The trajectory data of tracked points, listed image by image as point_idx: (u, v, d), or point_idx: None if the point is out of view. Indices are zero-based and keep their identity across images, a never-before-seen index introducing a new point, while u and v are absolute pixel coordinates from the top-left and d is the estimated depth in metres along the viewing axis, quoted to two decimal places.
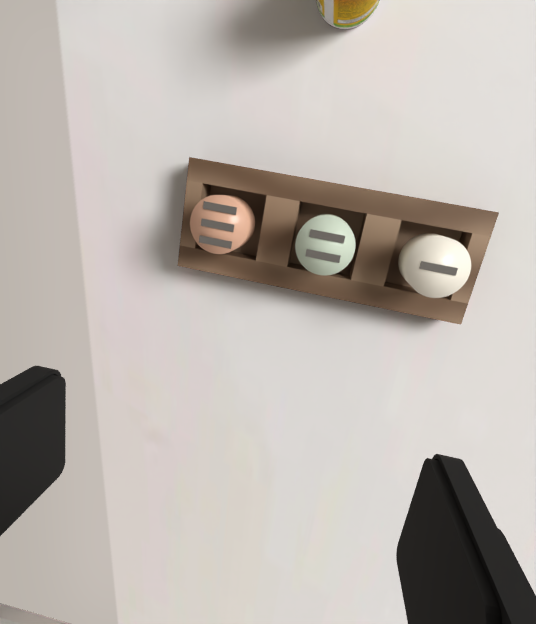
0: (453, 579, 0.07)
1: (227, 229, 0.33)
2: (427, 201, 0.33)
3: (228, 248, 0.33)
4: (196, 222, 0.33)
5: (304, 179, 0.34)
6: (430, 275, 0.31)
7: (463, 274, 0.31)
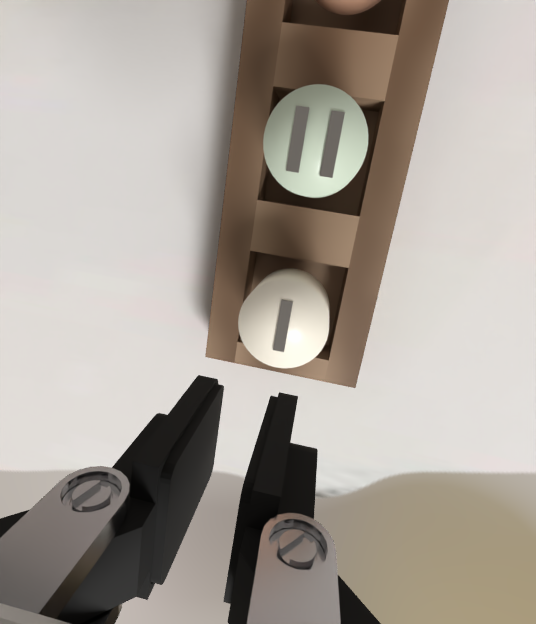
0: None
1: None
2: (374, 300, 0.24)
3: None
4: None
5: (420, 106, 0.21)
6: (272, 316, 0.21)
7: (275, 359, 0.21)
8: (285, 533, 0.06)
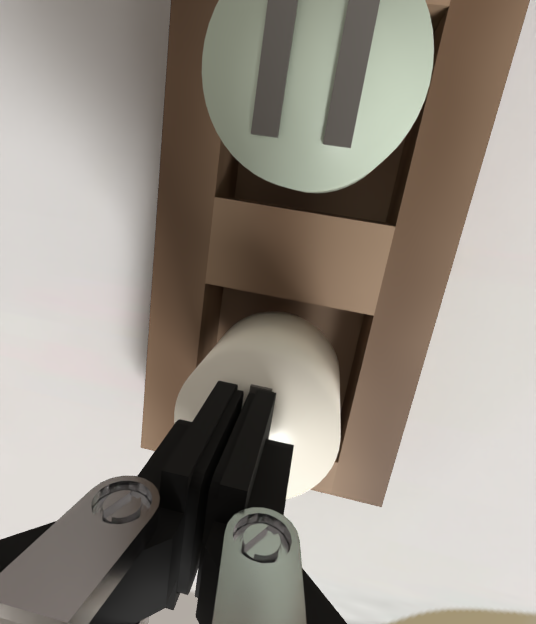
0: None
1: None
2: (417, 371, 0.14)
3: None
4: None
5: (520, 15, 0.11)
6: None
7: None
8: (249, 528, 0.06)
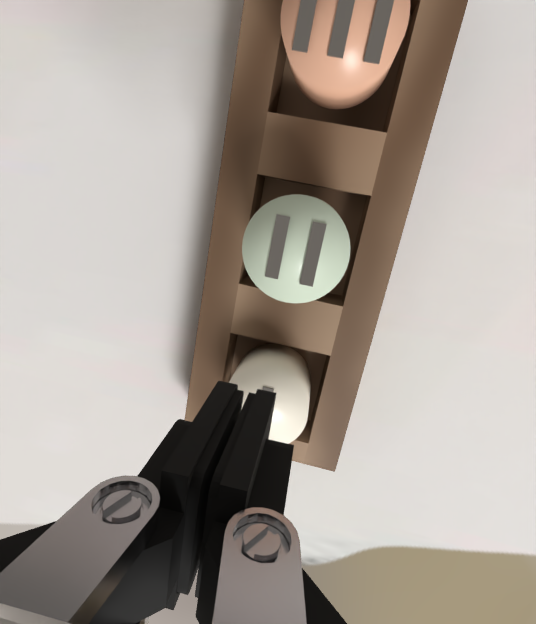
0: None
1: (334, 41, 0.15)
2: (355, 389, 0.23)
3: (293, 43, 0.15)
4: None
5: (407, 203, 0.20)
6: None
7: None
8: (249, 528, 0.06)
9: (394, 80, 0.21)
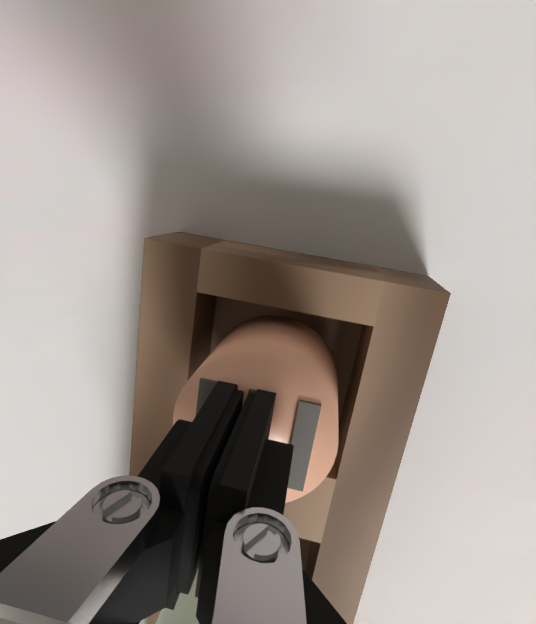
0: None
1: None
2: None
3: None
4: (258, 375, 0.11)
5: (368, 557, 0.15)
6: None
7: None
8: (249, 528, 0.06)
9: (349, 374, 0.16)
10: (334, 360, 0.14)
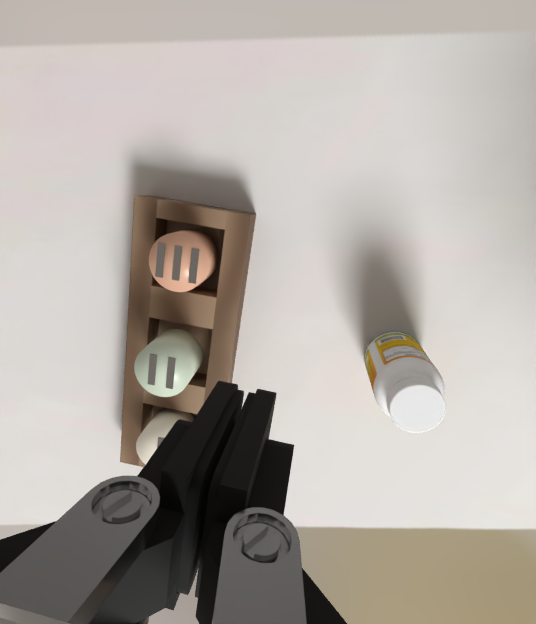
0: None
1: (174, 274, 0.32)
2: None
3: (155, 274, 0.32)
4: (177, 240, 0.31)
5: (232, 333, 0.36)
6: (154, 445, 0.37)
7: None
8: (249, 528, 0.06)
9: None
10: (215, 247, 0.35)
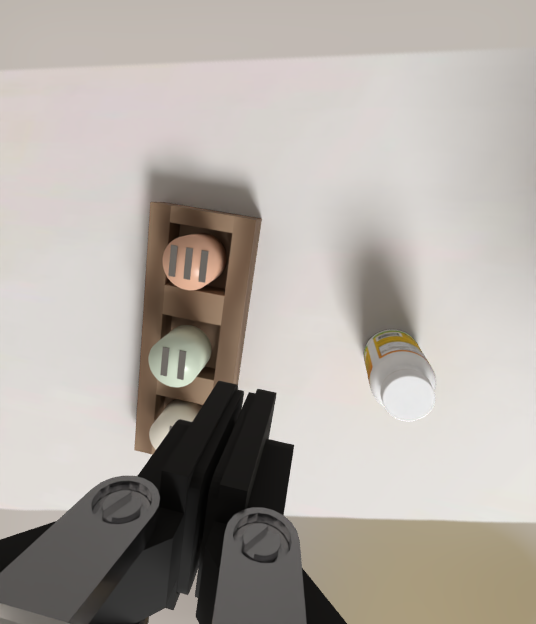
0: None
1: (185, 273, 0.35)
2: None
3: (168, 273, 0.35)
4: (189, 242, 0.34)
5: (239, 329, 0.38)
6: (166, 433, 0.40)
7: None
8: (249, 528, 0.06)
9: None
10: (224, 249, 0.38)
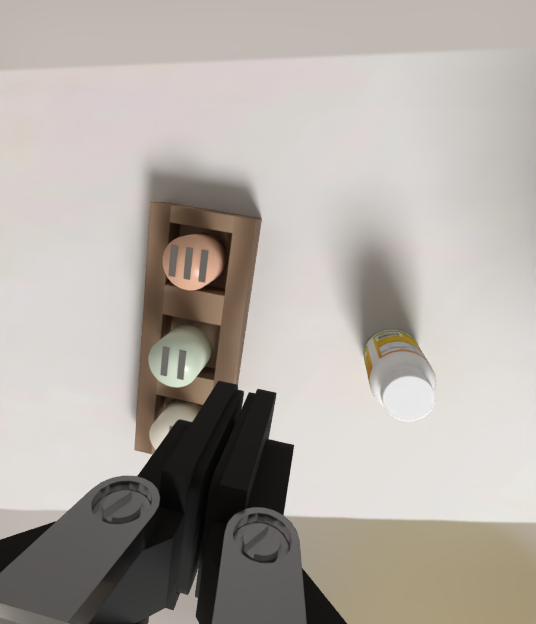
0: None
1: (185, 273, 0.35)
2: None
3: (168, 273, 0.35)
4: (189, 242, 0.34)
5: (239, 329, 0.38)
6: (166, 433, 0.40)
7: None
8: (249, 528, 0.06)
9: None
10: (224, 249, 0.38)
